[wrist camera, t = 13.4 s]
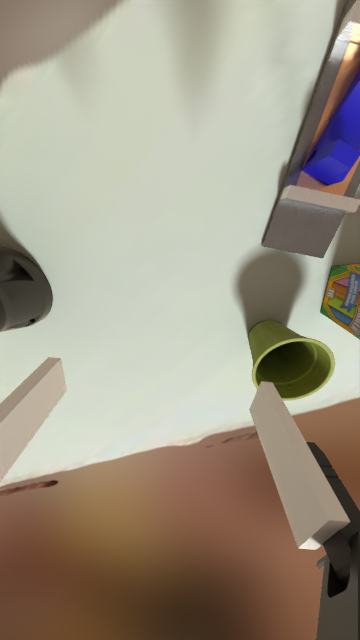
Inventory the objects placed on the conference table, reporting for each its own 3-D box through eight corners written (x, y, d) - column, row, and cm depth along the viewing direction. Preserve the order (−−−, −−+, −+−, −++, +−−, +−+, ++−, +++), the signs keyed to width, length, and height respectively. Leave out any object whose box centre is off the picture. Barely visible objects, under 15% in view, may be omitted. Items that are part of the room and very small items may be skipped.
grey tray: (261, 245, 32) (268, 247, 29) (372, -76, 19) (403, -128, 16) (319, 257, 32) (331, 260, 29) (468, -52, 19) (514, -98, 16)
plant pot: (307, 339, 39) (348, 378, 29) (255, 367, 42) (275, 410, 32) (279, 296, 35) (314, 323, 25) (225, 330, 39) (237, 366, 29)
